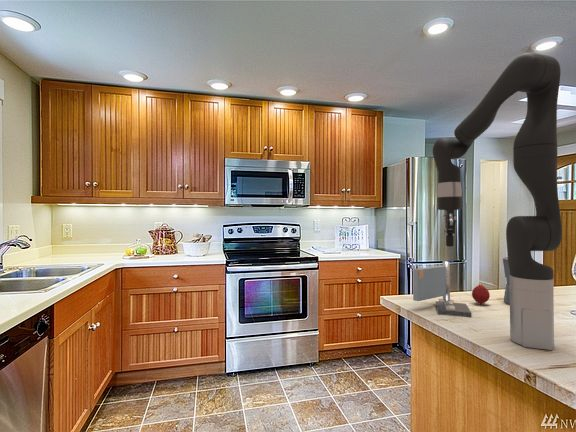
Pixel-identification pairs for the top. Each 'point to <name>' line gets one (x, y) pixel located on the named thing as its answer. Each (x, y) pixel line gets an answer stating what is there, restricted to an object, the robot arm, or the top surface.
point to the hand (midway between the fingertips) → (449, 246)
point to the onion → (480, 294)
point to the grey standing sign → (429, 283)
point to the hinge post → (447, 282)
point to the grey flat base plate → (453, 309)
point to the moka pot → (507, 275)
